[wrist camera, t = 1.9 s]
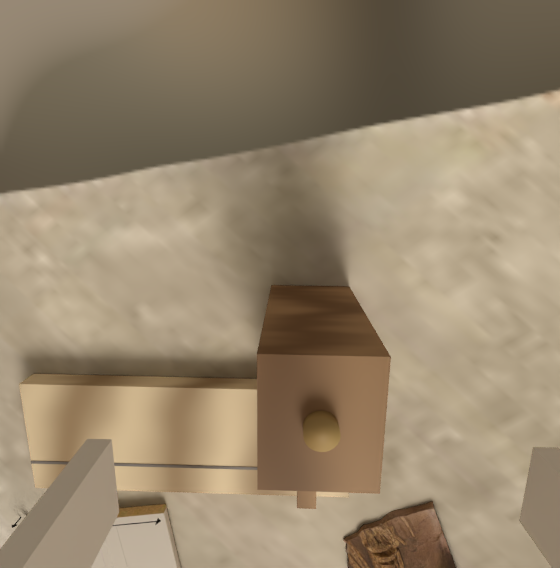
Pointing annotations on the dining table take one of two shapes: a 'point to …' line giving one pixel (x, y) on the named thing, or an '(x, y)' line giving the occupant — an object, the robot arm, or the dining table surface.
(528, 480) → the robot arm
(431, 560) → the wooden fragment
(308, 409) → the block
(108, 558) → the baseboard molding
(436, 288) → the dining table surface
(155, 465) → the board
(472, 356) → the dining table surface
